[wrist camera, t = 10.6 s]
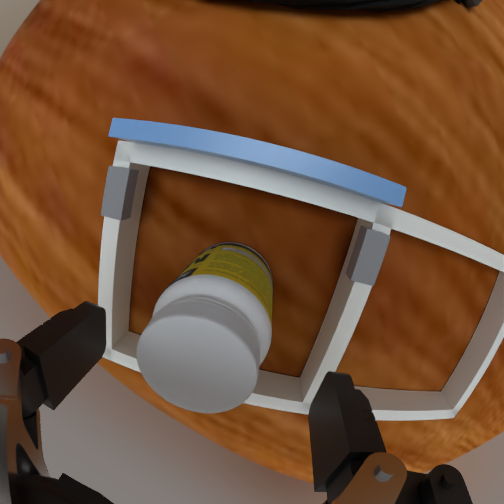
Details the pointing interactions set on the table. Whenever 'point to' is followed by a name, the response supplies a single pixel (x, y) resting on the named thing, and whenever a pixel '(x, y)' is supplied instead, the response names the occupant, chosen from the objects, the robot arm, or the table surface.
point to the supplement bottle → (210, 331)
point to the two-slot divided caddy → (352, 275)
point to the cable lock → (362, 4)
